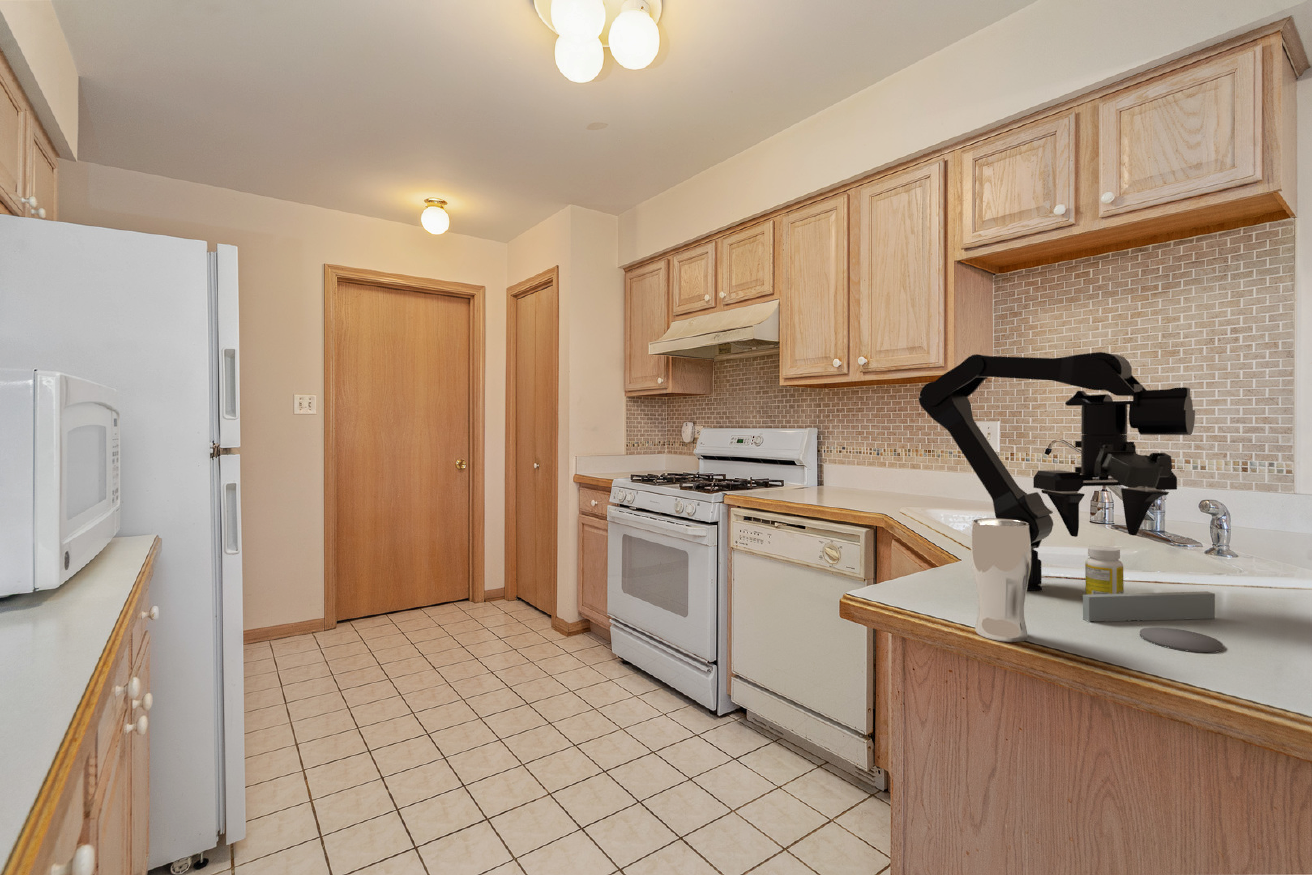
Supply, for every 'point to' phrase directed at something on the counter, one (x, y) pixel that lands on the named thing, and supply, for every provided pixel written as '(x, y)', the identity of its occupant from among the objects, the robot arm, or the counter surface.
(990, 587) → the beer glass
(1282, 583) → the counter surface
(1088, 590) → the supplement bottle
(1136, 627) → the counter surface
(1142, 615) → the gray rectangular bar
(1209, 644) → the coaster
